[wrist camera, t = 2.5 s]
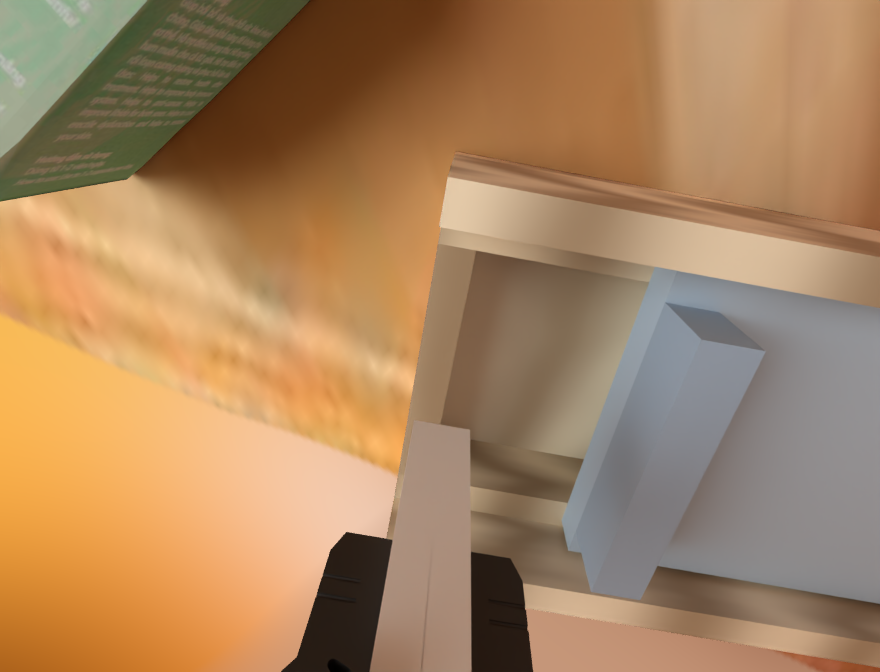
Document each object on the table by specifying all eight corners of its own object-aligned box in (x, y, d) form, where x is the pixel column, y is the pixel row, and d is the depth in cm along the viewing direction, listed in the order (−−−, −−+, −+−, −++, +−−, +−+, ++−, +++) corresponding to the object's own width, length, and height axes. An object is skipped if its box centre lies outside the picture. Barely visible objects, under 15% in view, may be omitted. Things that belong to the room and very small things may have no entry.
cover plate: (561, 520, 20) (581, 612, 16) (659, 254, 15) (718, 301, 12) (925, 582, 20) (1024, 687, 17) (1129, 341, 16) (1328, 412, 12)
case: (402, 456, 24) (378, 583, 18) (455, 151, 18) (447, 176, 12) (846, 533, 24) (977, 684, 18) (1038, 260, 19) (1332, 341, 12)
